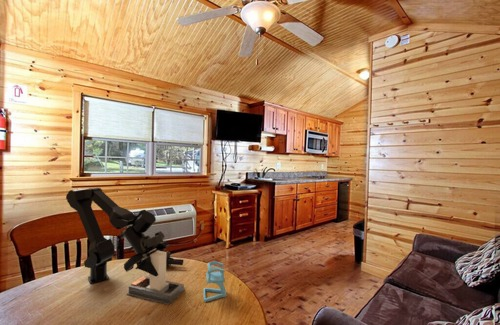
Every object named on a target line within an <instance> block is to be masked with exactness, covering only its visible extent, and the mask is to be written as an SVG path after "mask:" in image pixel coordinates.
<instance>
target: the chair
mask: <svg viewBox="0 0 500 325" xmlns="http://www.w3.org/2000/svg"><path fill="white" fill-rule="evenodd" d="M214 265H218V266H214ZM206 266H207V272H206V273H205V275H206V276H205V277H206V284H216V285H218V287H219V288H214V287H213V288H211V287H204V288H203V302H204V303H206V302H207V303H208V302H210V301H213V300H214V301H215V300H217V299H220V298H225V297H227V292H226V286H225V285H224V283H226V279H225V278H226V277H225V271H226V269H223V267H224V263H223V262H219V261H216V260H214V261H210V262H208V263H207V264H206ZM219 266H220V267H219ZM206 292H211V293H219V294H216V295H213V296H209V297H207V296H206Z"/></svg>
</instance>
